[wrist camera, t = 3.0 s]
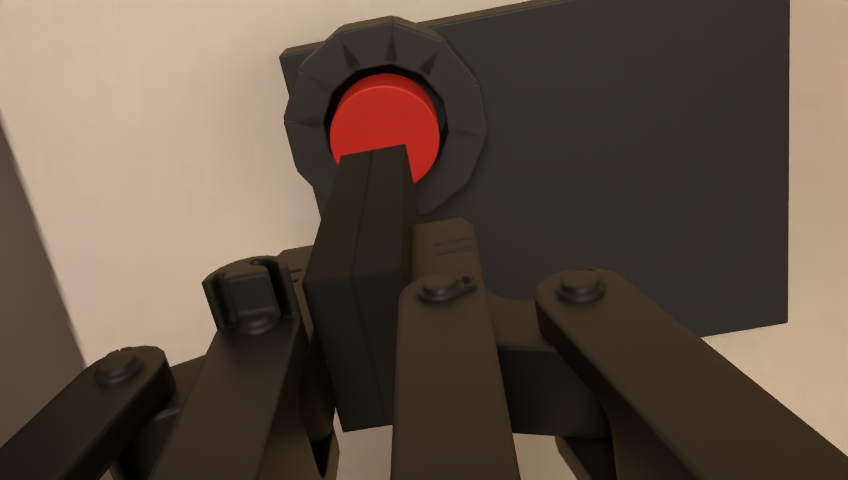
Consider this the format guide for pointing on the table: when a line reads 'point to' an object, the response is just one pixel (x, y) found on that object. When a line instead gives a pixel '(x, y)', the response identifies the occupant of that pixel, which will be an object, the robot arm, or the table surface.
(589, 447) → the robot arm
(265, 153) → the table surface
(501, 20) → the black flat block
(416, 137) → the button
